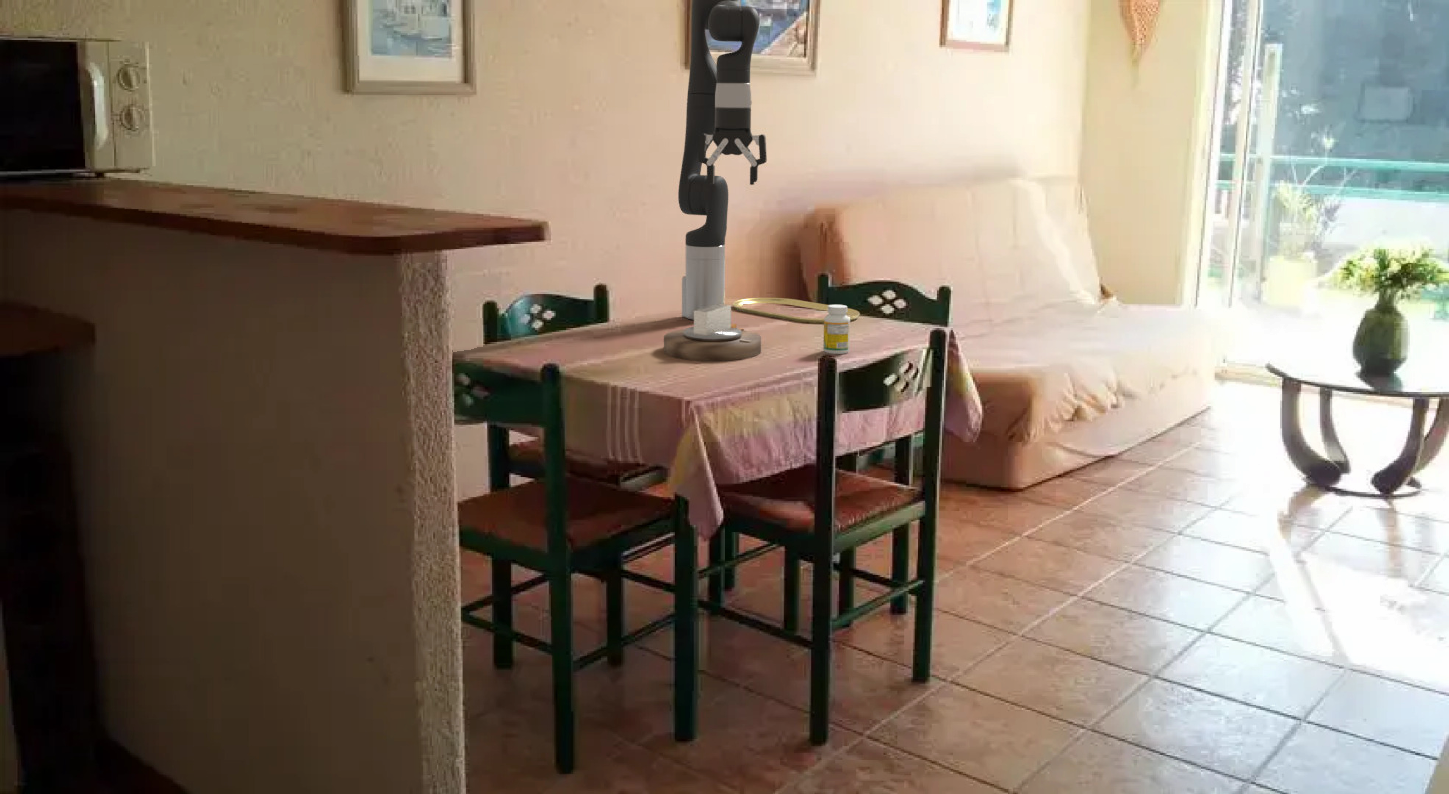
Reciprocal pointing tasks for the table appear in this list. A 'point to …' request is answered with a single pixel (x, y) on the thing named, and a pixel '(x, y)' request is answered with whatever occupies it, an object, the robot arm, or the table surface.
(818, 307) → the gold oval frame
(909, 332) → the table surface
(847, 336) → the supplement bottle
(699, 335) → the butter block on plate
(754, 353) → the base
